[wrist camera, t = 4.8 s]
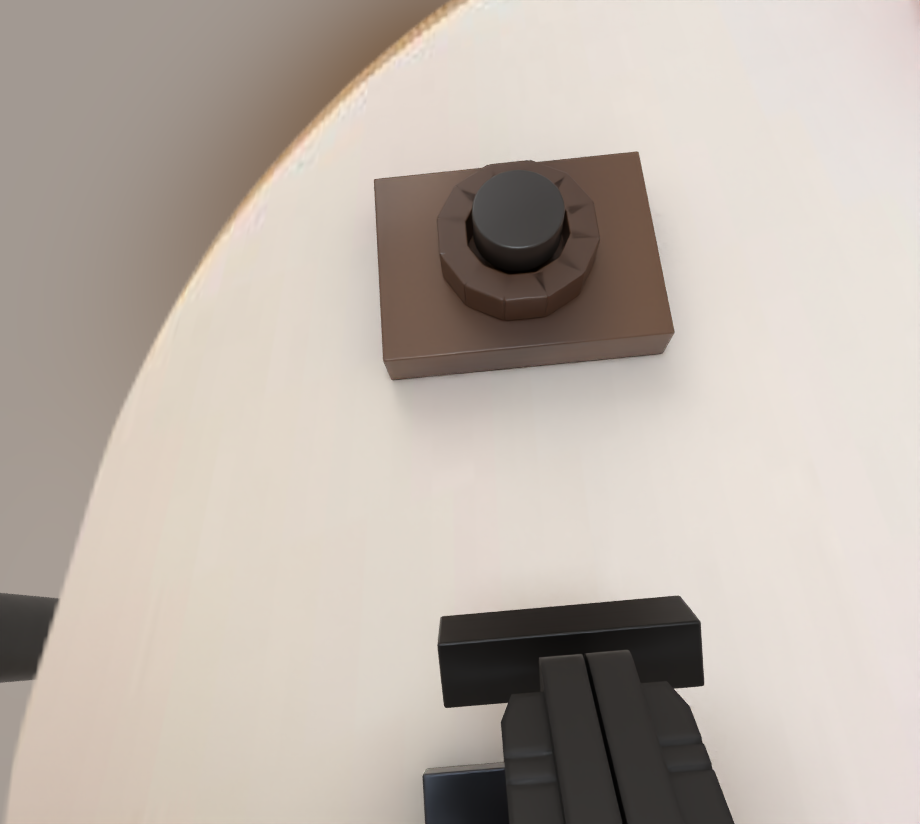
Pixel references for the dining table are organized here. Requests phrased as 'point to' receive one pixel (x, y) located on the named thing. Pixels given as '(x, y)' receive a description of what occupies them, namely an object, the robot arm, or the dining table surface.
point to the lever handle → (565, 645)
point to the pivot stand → (466, 794)
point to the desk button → (517, 220)
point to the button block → (519, 274)
